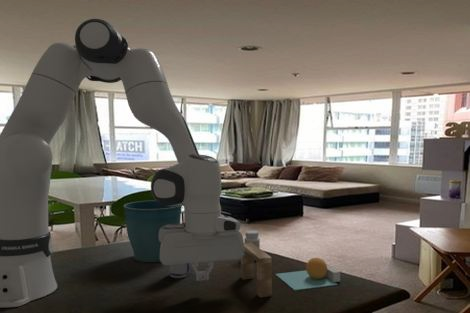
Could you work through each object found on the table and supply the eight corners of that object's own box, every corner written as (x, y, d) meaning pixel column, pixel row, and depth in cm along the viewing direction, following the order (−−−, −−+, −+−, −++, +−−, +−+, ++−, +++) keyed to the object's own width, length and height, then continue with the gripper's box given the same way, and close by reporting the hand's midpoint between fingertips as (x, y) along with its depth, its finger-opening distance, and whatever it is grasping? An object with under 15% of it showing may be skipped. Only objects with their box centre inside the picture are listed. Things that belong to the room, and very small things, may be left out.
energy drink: (185, 279, 104) (185, 234, 104) (166, 277, 105) (166, 233, 105) (191, 272, 109) (191, 230, 109) (173, 271, 110) (173, 229, 110)
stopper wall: (333, 282, 101) (333, 272, 101) (318, 272, 109) (318, 263, 108) (340, 281, 102) (340, 271, 101) (324, 271, 109) (324, 262, 109)
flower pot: (161, 246, 137) (160, 198, 136) (194, 256, 124) (193, 203, 123) (113, 257, 124) (112, 204, 123) (145, 270, 111) (144, 211, 111)
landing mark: (294, 290, 96) (294, 289, 96) (275, 274, 107) (275, 273, 107) (337, 284, 99) (337, 284, 99) (314, 270, 110) (314, 269, 110)
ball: (320, 286, 101) (308, 271, 100) (310, 279, 106) (298, 264, 105) (335, 271, 102) (323, 256, 101) (324, 265, 107) (313, 251, 106)
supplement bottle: (249, 255, 125) (248, 229, 125) (262, 257, 123) (262, 231, 123) (241, 259, 121) (241, 232, 121) (255, 261, 119) (255, 234, 118)
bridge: (259, 297, 92) (259, 258, 91) (240, 277, 105) (240, 243, 105) (271, 295, 92) (271, 257, 92) (251, 275, 106) (251, 242, 106)
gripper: (159, 227, 88) (159, 288, 88) (246, 223, 93) (246, 280, 94) (157, 221, 94) (157, 278, 94) (239, 218, 99) (238, 272, 100)
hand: (202, 279), depth 94 cm, fingers closed
